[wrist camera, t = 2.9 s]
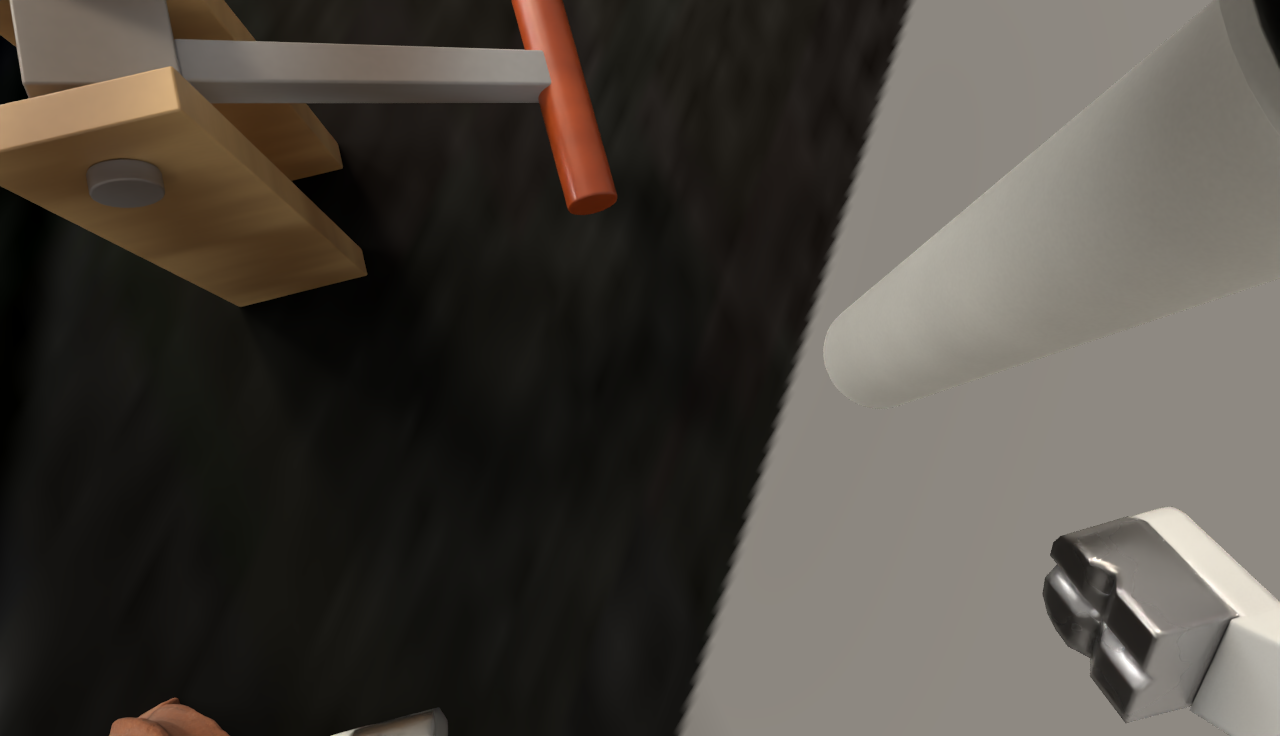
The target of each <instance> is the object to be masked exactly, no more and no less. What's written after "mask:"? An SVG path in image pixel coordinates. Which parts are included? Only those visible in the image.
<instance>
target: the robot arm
mask: <svg viewBox="0 0 1280 736" xmlns="http://www.w3.org/2000/svg"><path fill="white" fill-rule="evenodd" d="M1050 556H1051V557H1052V558H1053V559H1054V561H1055V562H1056V563H1057V565H1056V566H1055V567H1054V569H1053V570H1052V571H1051V572H1050V573H1049V574H1048V575H1047V576H1046V577H1045V582H1044V589H1043V597H1044V601H1045V605H1046V609H1047V613H1048V615H1049V617H1050V619H1051V621H1052V623H1053V625H1054V627H1055V629H1056V631H1057V632H1058V633H1059V635H1060V636H1061V637H1062V639H1063V640H1064V642H1065V643H1066V644H1067V646H1068V647H1070V648H1072V649H1074V650H1076V651H1078V652H1080V653H1082V654H1083V655H1085V656H1087V657H1089V658H1090V676H1091V678H1092V679H1093V681H1094V682H1095V683H1096V685H1097V686H1098V687H1099V688H1100V690H1101V691H1102V692H1103V694H1104V695H1105V696H1106V698H1107V699H1108V700H1109V702H1110V703H1111V704H1112V705H1113V707H1114V708H1115V710H1116V711H1117V712H1118V714H1119V715H1120V716H1121V718H1122V719H1123V720H1124V722H1125V723H1128V722H1132V721H1136V720H1140V719H1143V718H1147V717H1151V716H1155V715H1159V714H1162V713H1167V712H1170V711H1174V710H1178V709H1182V708H1185V707H1190V706H1191V709H1190V711H1192V712H1193V713H1195V714H1196V715H1198V716H1200V717H1201V718H1203V719H1204V720H1206V721H1207V722H1209V723H1211V724H1212V725H1214V726H1215V727H1217V728H1219V729H1220V730H1222V731H1223V732H1225V733H1226V734H1228V735H1230V736H1280V602H1279V601H1278V600H1277V599H1276V598H1275V597H1274V596H1273V595H1272V594H1271V593H1270V592H1269V591H1268V590H1266V589H1265V588H1264V587H1263V586H1262V585H1261V584H1260V583H1259V582H1258V581H1257V580H1256V579H1255V578H1254V577H1252V575H1250V574H1249V573H1248V572H1247V571H1246V570H1245V569H1244V568H1243V567H1242V566H1241V565H1239V563H1237V561H1235V560H1234V559H1233V558H1232V557H1231V556H1230V555H1229V554H1228V553H1227V552H1226V551H1225V550H1224V549H1223V548H1222V547H1220V546H1219V545H1218V544H1217V543H1216V542H1215V541H1214V540H1213V539H1212V538H1211V537H1210V536H1209V535H1207V533H1205V532H1204V531H1203V530H1202V529H1201V528H1200V527H1199V526H1198V525H1197V524H1196V523H1195V522H1194V521H1192V519H1191V518H1189V517H1188V516H1187V515H1186V514H1185V513H1184V512H1182V511H1180V510H1178V509H1176V508H1174V507H1163V508H1159V509H1155V510H1152V511H1149V512H1145V513H1142V514H1138V515H1135V516H1131V517H1124V518H1121V519H1117V520H1114V521H1110V522H1107V523H1104V524H1100V525H1097V526H1093V527H1090V528H1087V529H1083V530H1080V531H1076V532H1073V533H1070V534H1067V535H1063V536H1060V537H1059V538H1058V539H1057V540H1056V541H1054V542H1053V546H1052V550H1051V554H1050ZM332 736H448V720H447V719H446V717H445V716H444V714H443V713H442V711H441V709H440V708H439V707H438V708H435V709H431V710H427V711H423V712H420V713H416V714H412V715H408V716H405V717H401V718H397V719H393V720H390V721H386V722H382V723H378V724H375V725H371V726H367V727H363V728H358V729H353V730H350V731H346V732H343V733H339V734H335V735H332Z"/></svg>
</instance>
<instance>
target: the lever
mask: <svg viewBox="0 0 1280 736" xmlns="http://www.w3.org/2000/svg"><path fill="white" fill-rule="evenodd" d="M9 2H10V8H11V15H12V21H13V27H14V33H15V40H16V46H17V52H18V58H19V64H20V71H21V77H22V83H23V85H24V87H25V90H26V92H27V94H28V97H29V98H33V97H37V96H42V95H46V94H50V93H55V92H59V91H64V90H68V89H72V88H77V87H81V86H85V85H90V84H94V83H99V82H103V81H107V80H112V79H116V78H120V77H125V76H129V75H134V74H138V73H142V72H147V71H151V70H155V69H160V68H164V67H169V66H172V67H173V68H175V69H176V70H177V71H178V72H179V73H180V74H181V75H182V76H183V77H184V78H185V79H186V80H187V81H188V82H189V83H190V84H191V85H192V86H193V87H194V88H195V89H196V90H197V91H198V92H199V93H200V94H201V95H202V96H203V97H205V98H206V99H207V100H208V101H209V102H210V103H539V104H540V108H541V111H542V115H543V119H544V122H545V126H546V130H547V134H548V137H549V141H550V145H551V148H552V152H553V156H554V160H555V163H556V167H557V171H558V174H559V178H560V182H561V185H562V189H563V193H564V197H565V200H566V204H567V208H568V210H569V212H570V213H572V214H576V215H586V214H592V213H596V212H599V211H602V210H604V209H606V208H608V207H610V206H612V205H613V204H614V203H615V202H616V200H617V193H616V189H615V186H614V182H613V179H612V175H611V171H610V168H609V164H608V161H607V157H606V154H605V150H604V147H603V143H602V139H601V136H600V132H599V129H598V125H597V122H596V118H595V114H594V111H593V107H592V104H591V100H590V97H589V93H588V90H587V86H586V82H585V79H584V75H583V72H582V68H581V65H580V61H579V57H578V54H577V50H576V47H575V43H574V40H573V36H572V32H571V29H570V25H569V22H568V18H567V15H566V11H565V8H564V4H563V0H512V4H513V7H514V11H515V15H516V19H517V22H518V26H519V30H520V33H521V37H522V41H523V45H524V48H525V50H512V49H481V48H450V47H419V46H387V45H356V44H325V43H293V42H262V41H231V40H200V39H174V38H173V33H172V28H171V23H170V17H169V12H168V7H167V2H166V0H9Z"/></svg>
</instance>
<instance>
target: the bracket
mask: <svg viewBox="0 0 1280 736" xmlns="http://www.w3.org/2000/svg"><path fill="white" fill-rule="evenodd" d="M166 2H167V7H168V12H169V17H170V23H171V28H172V33H173V38H174V39H200V40H231V41H256V40H255V39H254V38H253V36H252V35H251V34H250V33H249V31H248V30H247V29H246V28H245V26H244V25H243V24H242V23H241V21H240V20H239V19H238V18H237V16H236V15H235V14H234V13H233V11H232V10H231V9H230V7H229V6H228V5H227V4H226V2H225V1H224V0H166ZM0 35H1V36H3V37H4V38H5V39H7V40H8V41H9V42H11V43H12V44H13V45H15V46H16V40H15V33H14V27H13V21H12V15H11V8H10V2H9V0H0ZM16 47H17V46H16ZM342 168H343V164H342V160H341V155H340V151H339V146H338V143H337V142H336V141H335V140H334V138H333V137H332V136H331V135H330V133H329V132H328V131H327V130H326V128H325V127H324V126H323V125H322V123H321V122H320V121H319V119H318V118H317V117H316V116H315V114H314V113H313V112H312V111H311V109H310V108H309V107H308V106H307V104H306V103H210V102H209V101H208V100H207V99H206V98H205V97H203V96H202V95H201V94H200V93H199V92H198V91H197V90H196V89H195V88H194V87H193V86H192V85H191V84H190V83H189V82H188V81H187V80H186V79H185V78H184V77H183V76H182V75H181V74H180V73H179V72H178V71H177V70H176V69H175V68H173V67H172V66H169V67H164V68H160V69H155V70H151V71H147V72H142V73H138V74H134V75H129V76H125V77H120V78H116V79H112V80H107V81H103V82H99V83H94V84H90V85H85V86H81V87H77V88H72V89H68V90H64V91H59V92H55V93H50V94H46V95H42V96H37V97H33V98H29V99H24V100H20V101H15V102H11V103H7V104H2V105H0V186H2V187H4V188H6V189H7V190H9V191H11V192H13V193H15V194H17V195H19V196H21V197H23V198H25V199H27V200H29V201H31V202H33V203H35V204H37V205H39V206H41V207H43V208H45V209H47V210H49V211H51V212H53V213H55V214H57V215H59V216H61V217H63V218H65V219H67V220H69V221H71V222H73V223H75V224H77V225H79V226H81V227H83V228H85V229H87V230H89V231H91V232H93V233H95V234H97V235H99V236H101V237H103V238H104V239H106V240H108V241H110V242H112V243H114V244H116V245H118V246H120V247H122V248H124V249H126V250H128V251H130V252H132V253H134V254H136V255H138V256H140V257H142V258H144V259H146V260H148V261H150V262H152V263H154V264H156V265H158V266H160V267H162V268H164V269H166V270H168V271H170V272H172V273H174V274H176V275H178V276H180V277H182V278H184V279H186V280H188V281H190V282H192V283H194V284H196V285H198V286H200V287H201V288H203V289H205V290H207V291H209V292H211V293H213V294H215V295H217V296H219V297H221V298H223V299H225V300H227V301H229V302H231V303H233V304H235V305H237V306H239V307H243V306H247V305H251V304H255V303H259V302H263V301H267V300H271V299H275V298H279V297H283V296H286V295H290V294H294V293H298V292H302V291H306V290H310V289H314V288H318V287H322V286H326V285H330V284H334V283H338V282H342V281H346V280H350V279H354V278H358V277H362V276H366V275H367V271H366V266H365V262H364V258H363V253H362V249H361V248H360V247H359V246H358V245H357V244H356V243H355V242H354V241H353V240H352V239H350V238H349V237H348V236H347V235H346V234H345V233H344V232H343V231H342V230H341V229H340V228H339V227H338V226H337V225H336V224H335V223H334V222H333V221H332V220H331V219H330V218H329V217H328V216H327V215H326V214H325V213H324V212H323V211H321V210H320V209H319V208H318V207H317V206H316V205H315V204H314V203H313V202H312V201H311V200H310V199H309V198H308V197H307V196H306V195H305V194H304V193H303V192H302V191H301V190H300V189H299V188H298V187H297V186H296V185H295V184H294V183H293V182H291V181H293V180H297V179H301V178H305V177H310V176H314V175H318V174H322V173H326V172H330V171H335V170H339V169H342Z"/></svg>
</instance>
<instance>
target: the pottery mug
mask: <svg viewBox="0 0 1280 736" xmlns="http://www.w3.org/2000/svg"><path fill="white" fill-rule="evenodd" d="M374 725H375V724H374ZM368 726H371V725H368ZM363 727H367V726H363ZM363 727H359V728H363ZM356 729H358V728H356ZM352 730H353V729H352ZM109 736H230V735H229V734H228V733H227V732H225V731H224V730H222V729H221V727H220V726H219V725H218V724H217V723H216V722H215V721H214V720H212V719H211V718H208V717H206V716H204V715H202V714H200V713H198V712H196V711H195V710H194V709H192V708H190V707H188V706H185V705H181V704H180V702H179V700H178V699H177V698H172V699H170V700H168V701H166V702H164V703H161V704H160V705H158V706H156V707H155V708H153V709H151V710H150V711H148V712H146V713H144V714H142V715H141V716H140V717H138V718H122V719H117V720H116V721H115V722H114V723H113V724H112V727H111V732H110V735H109Z"/></svg>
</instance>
